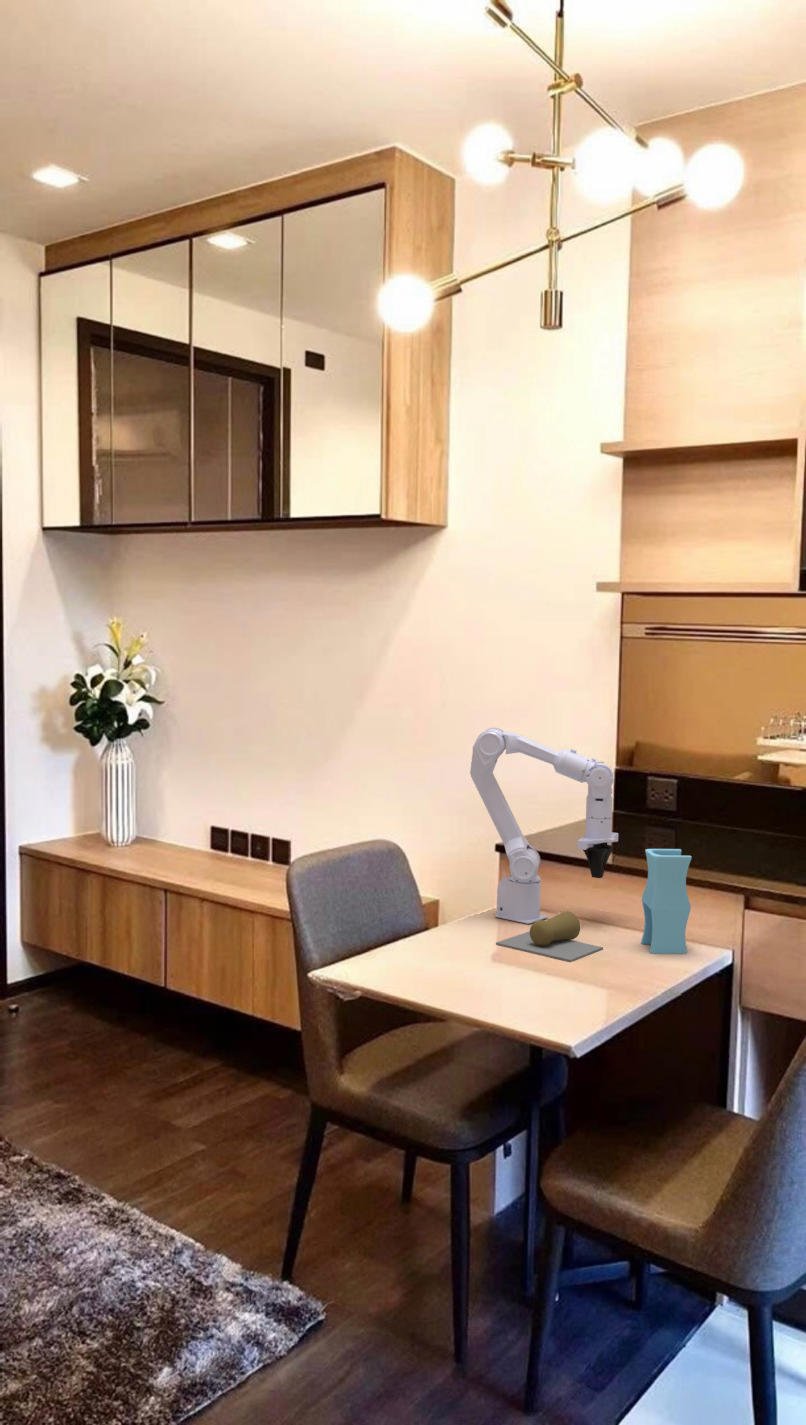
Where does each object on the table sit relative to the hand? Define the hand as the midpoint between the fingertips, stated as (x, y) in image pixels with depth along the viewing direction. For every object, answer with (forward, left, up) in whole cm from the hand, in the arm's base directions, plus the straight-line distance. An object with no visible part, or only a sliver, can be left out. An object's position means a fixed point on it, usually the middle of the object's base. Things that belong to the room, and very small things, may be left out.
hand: (597, 877), depth 244 cm
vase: (+21, -8, -11) cm, 25 cm away
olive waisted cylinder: (+3, -16, -7) cm, 18 cm away
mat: (+3, -24, -10) cm, 26 cm away
